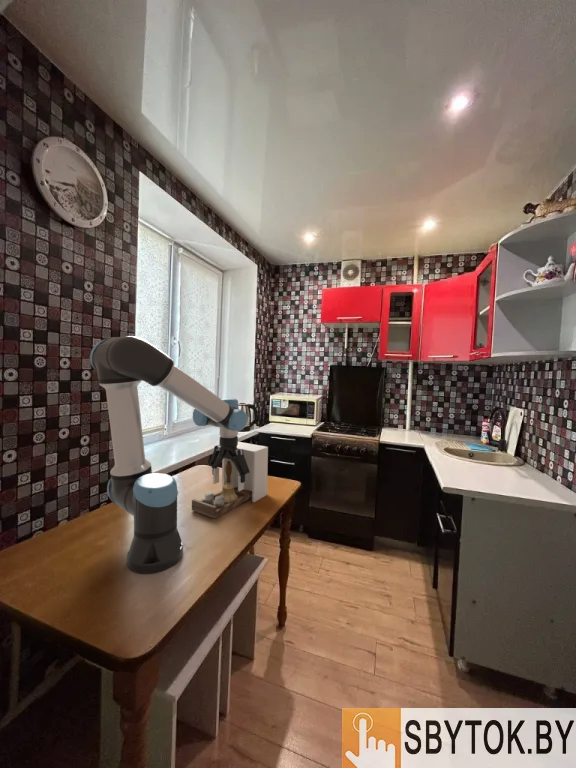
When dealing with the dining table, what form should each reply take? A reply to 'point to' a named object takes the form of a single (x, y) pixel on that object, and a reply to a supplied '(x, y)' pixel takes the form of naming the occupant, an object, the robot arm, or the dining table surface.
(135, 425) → the robot arm
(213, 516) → the tray
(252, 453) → the white upright box
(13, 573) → the dining table surface
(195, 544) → the dining table surface
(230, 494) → the hand bell
